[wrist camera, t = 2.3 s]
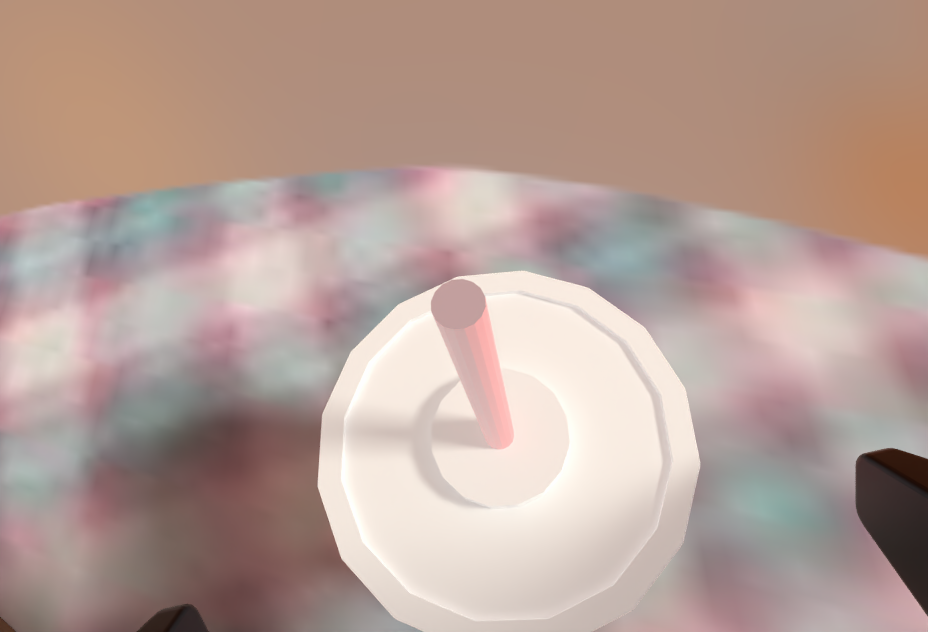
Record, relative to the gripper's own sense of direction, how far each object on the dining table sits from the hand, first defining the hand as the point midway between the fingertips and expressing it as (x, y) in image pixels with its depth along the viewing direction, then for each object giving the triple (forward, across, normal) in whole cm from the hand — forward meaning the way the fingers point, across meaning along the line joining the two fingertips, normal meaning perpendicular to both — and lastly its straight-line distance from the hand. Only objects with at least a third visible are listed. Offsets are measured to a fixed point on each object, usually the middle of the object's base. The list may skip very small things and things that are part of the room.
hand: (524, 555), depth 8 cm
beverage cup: (+8, 0, +6) cm, 10 cm away
